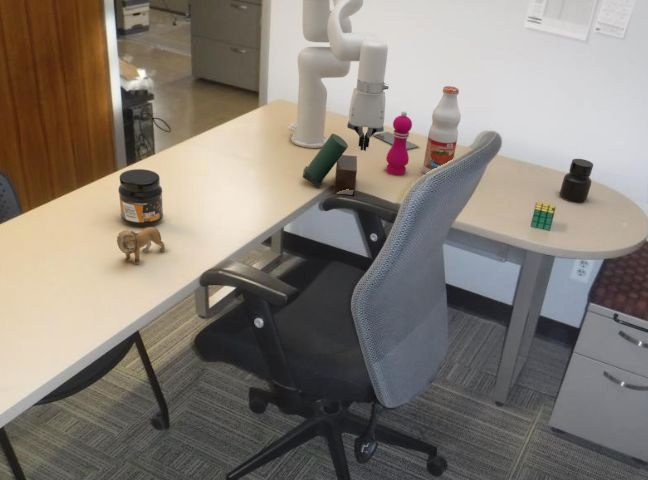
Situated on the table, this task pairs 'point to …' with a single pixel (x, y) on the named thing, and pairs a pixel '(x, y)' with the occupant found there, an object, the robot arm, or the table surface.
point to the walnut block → (345, 173)
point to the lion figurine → (138, 242)
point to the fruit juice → (443, 130)
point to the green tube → (325, 160)
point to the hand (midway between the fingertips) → (363, 148)
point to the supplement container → (140, 198)
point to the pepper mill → (399, 146)
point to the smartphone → (392, 139)
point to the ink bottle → (577, 181)
